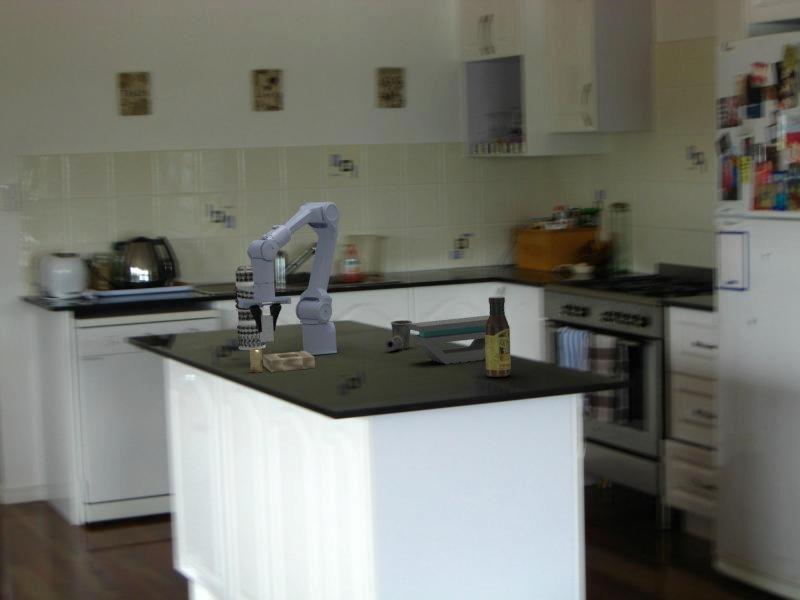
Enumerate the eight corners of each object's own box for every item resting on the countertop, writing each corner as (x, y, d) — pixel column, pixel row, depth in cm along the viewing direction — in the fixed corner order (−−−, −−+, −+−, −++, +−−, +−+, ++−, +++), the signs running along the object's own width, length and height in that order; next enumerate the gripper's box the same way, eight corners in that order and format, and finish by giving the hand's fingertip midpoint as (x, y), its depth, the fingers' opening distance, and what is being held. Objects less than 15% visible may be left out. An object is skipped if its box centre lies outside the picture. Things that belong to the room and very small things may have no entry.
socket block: (305, 361, 353) (305, 351, 353) (315, 367, 341) (314, 356, 341) (263, 365, 350) (262, 354, 349) (271, 371, 338) (270, 360, 338)
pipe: (381, 353, 363) (380, 325, 362) (398, 346, 375) (396, 319, 374) (401, 353, 361) (399, 325, 360) (417, 346, 373) (416, 319, 372)
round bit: (261, 370, 341) (260, 348, 340) (263, 372, 338) (262, 350, 337) (250, 371, 340) (248, 349, 340) (252, 373, 337) (250, 351, 337)
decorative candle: (263, 344, 391) (259, 264, 388) (270, 348, 382) (265, 266, 379) (234, 347, 388) (229, 266, 385) (240, 351, 379) (235, 268, 376)
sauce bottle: (503, 378, 312) (501, 298, 310) (481, 377, 316) (478, 298, 313) (515, 374, 318) (513, 295, 316) (493, 373, 321) (491, 295, 319)
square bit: (271, 339, 355) (270, 314, 354) (274, 340, 352) (272, 316, 351) (260, 340, 354) (258, 315, 353) (262, 341, 351) (261, 316, 350)
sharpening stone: (423, 367, 335) (421, 326, 334) (410, 363, 342) (408, 323, 341) (504, 357, 346) (503, 317, 345) (490, 353, 353) (489, 315, 352)
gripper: (285, 280, 357) (288, 327, 359) (235, 283, 353) (238, 331, 354) (291, 281, 351) (294, 330, 352) (240, 285, 346) (243, 334, 348)
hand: (266, 331), depth 353 cm, fingers closed on square bit, 3 cm apart
